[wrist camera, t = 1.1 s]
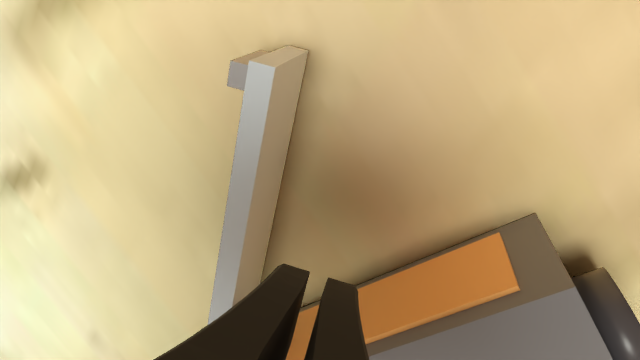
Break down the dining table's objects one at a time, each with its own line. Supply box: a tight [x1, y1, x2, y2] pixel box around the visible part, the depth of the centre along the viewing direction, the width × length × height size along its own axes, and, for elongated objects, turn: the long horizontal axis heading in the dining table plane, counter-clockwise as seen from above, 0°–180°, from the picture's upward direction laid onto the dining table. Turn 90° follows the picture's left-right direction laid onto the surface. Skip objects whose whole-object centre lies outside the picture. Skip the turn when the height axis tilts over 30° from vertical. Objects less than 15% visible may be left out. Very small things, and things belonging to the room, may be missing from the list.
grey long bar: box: [208, 45, 308, 325], centre depth 18 cm, size 14×2×4 cm, turn 167°
